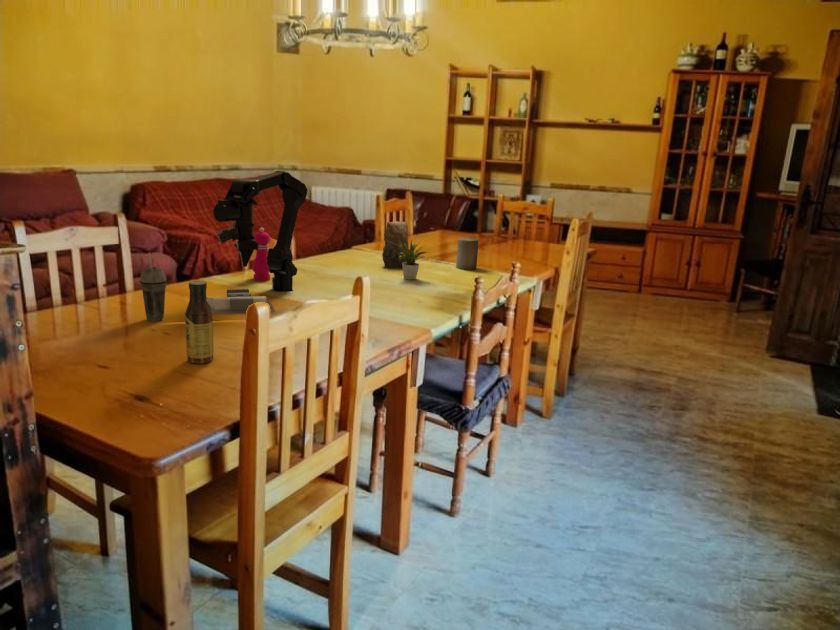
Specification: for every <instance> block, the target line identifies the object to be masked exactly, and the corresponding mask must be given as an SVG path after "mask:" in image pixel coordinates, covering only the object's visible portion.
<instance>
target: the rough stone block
mask: <svg viewBox="0 0 840 630" xmlns="http://www.w3.org/2000/svg"><path fill="white" fill-rule="evenodd" d="M408 235H409V230H408V222H407V221H399V220H394V221H391V222H390V221H387V222H386V227H385V230H384V235H383V240H384V247H383V248H382V254H381V257H382V261H383V267H384V268H388V269H391V268H392V269H401V270H403V266H402V263H404V262H406V260H405V259H403V258H404V255H402V254H400V253H401V252H403V253H404V251H403V250H402V249H403V248H402V247H400V245H401V246H403V247H404V249H405V251H406V248H405V245H407V247H408V249H410V247H409V246H410V245H409V236H408ZM404 243H405V245H404ZM395 244H397V245H395ZM401 248H402V249H401ZM406 253H407V251H406ZM404 254H405V253H404ZM399 256H403V257H399ZM400 258H401V259H400Z"/></svg>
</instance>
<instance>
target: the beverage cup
mask: <svg viewBox="0 0 840 630" xmlns="http://www.w3.org/2000/svg"><path fill="white" fill-rule="evenodd" d="M147 253H148V254H147V255H148V262H149V263H148V264H149V267H147V268H145V269H144V270H143V271H142V272H141V274H140V277H139V278H140V279H139V283H140V287H141V291H142V298H143V305H144V310H145V317H146V321H148V322H151V323H157V322H162V321H163V319H164V315H165V301H166V300H165V299H166V288H167V282H168V280H167V276H166V274H165V272H164V271H163V270H162V269H160V268H159V267H155V266H153V265H152V256H151V252H147Z"/></svg>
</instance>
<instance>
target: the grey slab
mask: <svg viewBox="0 0 840 630" xmlns="http://www.w3.org/2000/svg"><path fill="white" fill-rule="evenodd" d="M250 296H252V293H251V292H250V289H249V288H226V297H249V298H230V309H214V297H207V300H206V301H207V302H208V304H209V305H210V307H211V309H212V315H223V314H225V315H226V314H227V315H229V314H247V313H246V310H247V308H248V306H249V305H251V304H253V297H250ZM265 296H266V295H265ZM266 298H267V303H268V304H269V305H270V309H271V312H270V313H276V310H275V308H274V306H273V304H272V302H271V301H270V299H269V298H268V296H266Z"/></svg>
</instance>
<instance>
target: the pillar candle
mask: <svg viewBox="0 0 840 630" xmlns="http://www.w3.org/2000/svg"><path fill="white" fill-rule="evenodd" d="M479 241H480V240H479V239H478V238H475V237H470V236H468V237H457V248H456V260H455V261H456V264H455V268H457V269H458V268H459V270H463V269H465V270H464V271H471V270H473V271H474V269H475V270H477V269H476V268H477V264H478V253H479Z"/></svg>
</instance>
